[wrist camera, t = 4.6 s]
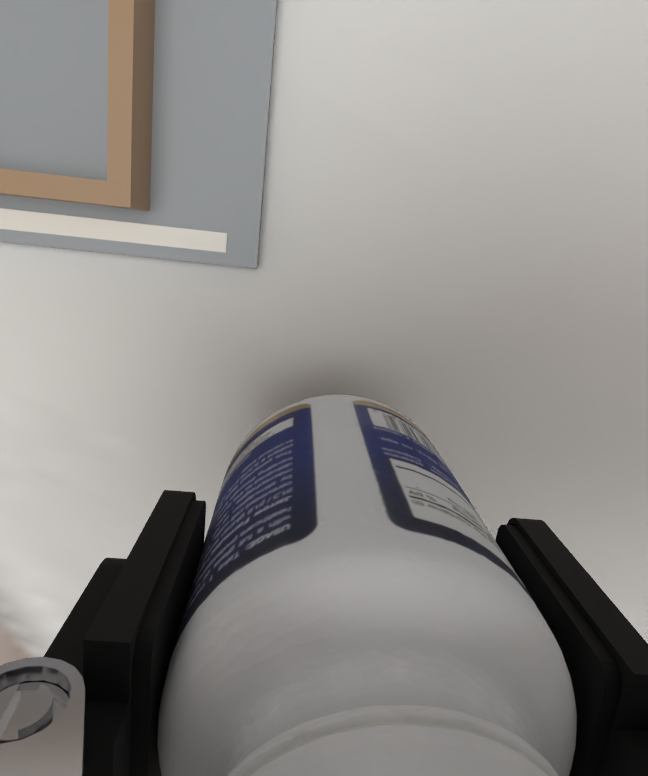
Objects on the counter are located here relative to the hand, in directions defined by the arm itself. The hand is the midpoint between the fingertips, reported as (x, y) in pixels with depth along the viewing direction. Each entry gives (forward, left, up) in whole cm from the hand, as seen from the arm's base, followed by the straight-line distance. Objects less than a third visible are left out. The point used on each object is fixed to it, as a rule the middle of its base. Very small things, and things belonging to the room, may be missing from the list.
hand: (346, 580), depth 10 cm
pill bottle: (0, 0, -4) cm, 4 cm away
